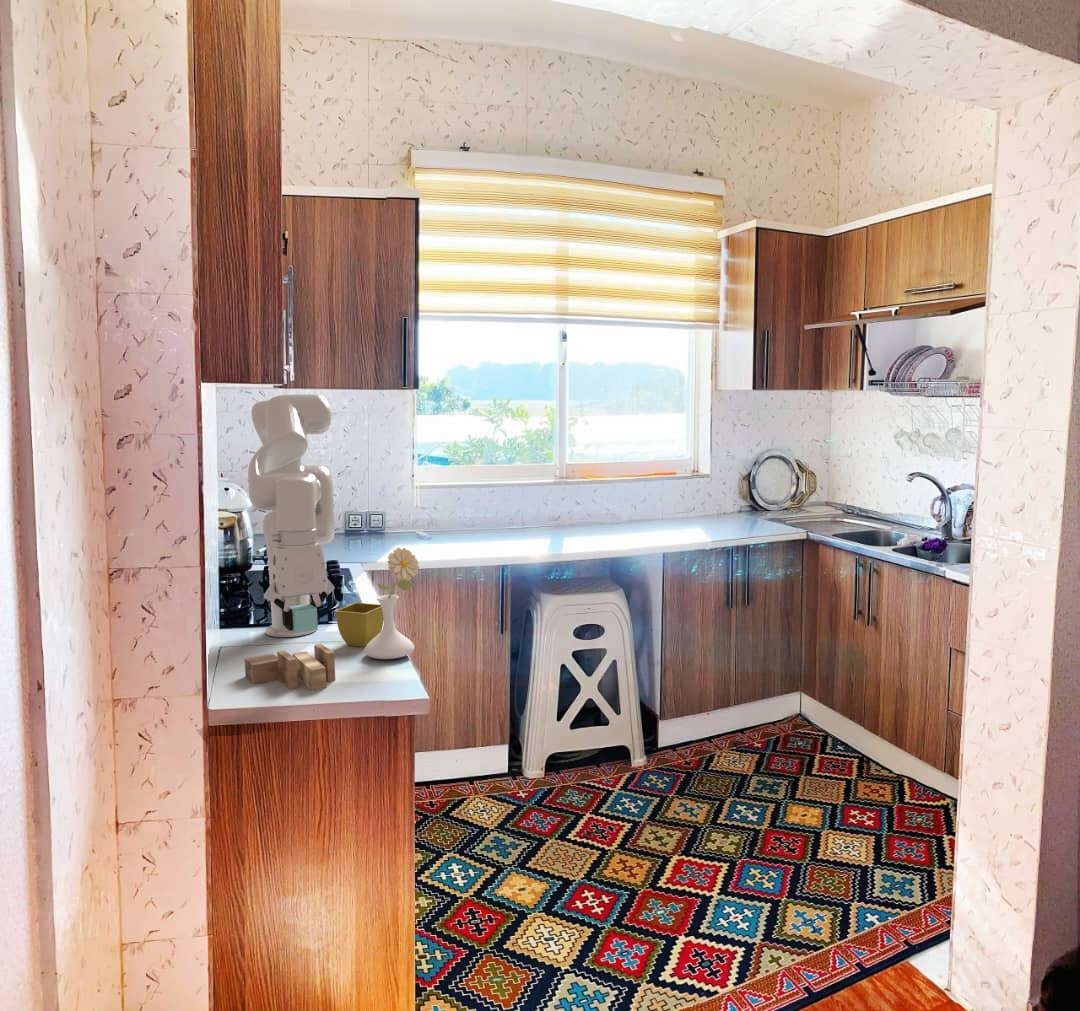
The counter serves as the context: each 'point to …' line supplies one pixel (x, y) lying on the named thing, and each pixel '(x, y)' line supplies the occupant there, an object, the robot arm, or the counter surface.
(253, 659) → the pedestal
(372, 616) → the flower pot
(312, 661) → the push bar
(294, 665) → the channel
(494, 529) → the counter surface
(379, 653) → the flower in vase
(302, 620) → the block
